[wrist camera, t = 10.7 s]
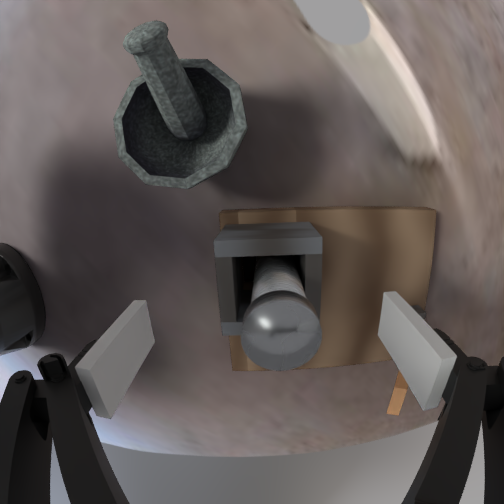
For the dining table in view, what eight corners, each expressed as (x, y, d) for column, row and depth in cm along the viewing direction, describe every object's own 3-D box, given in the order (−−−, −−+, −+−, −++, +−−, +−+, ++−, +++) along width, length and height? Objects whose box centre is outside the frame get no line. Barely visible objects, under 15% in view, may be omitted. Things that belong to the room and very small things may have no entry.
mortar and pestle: (257, 175, 26) (252, 176, 14) (158, 194, 26) (89, 213, 15) (236, 60, 23) (217, -9, 11) (141, 84, 24) (72, 43, 12)
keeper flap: (384, 418, 18) (397, 420, 18) (395, 380, 17) (409, 383, 17) (403, 346, 27) (413, 348, 27) (410, 313, 26) (420, 315, 26)
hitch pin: (252, 237, 27) (238, 303, 14) (296, 236, 27) (324, 300, 13) (254, 279, 28) (243, 371, 15) (296, 277, 28) (319, 368, 14)
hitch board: (234, 359, 31) (225, 410, 23) (222, 210, 27) (204, 226, 19) (407, 346, 30) (436, 388, 22) (426, 207, 25) (473, 221, 18)
